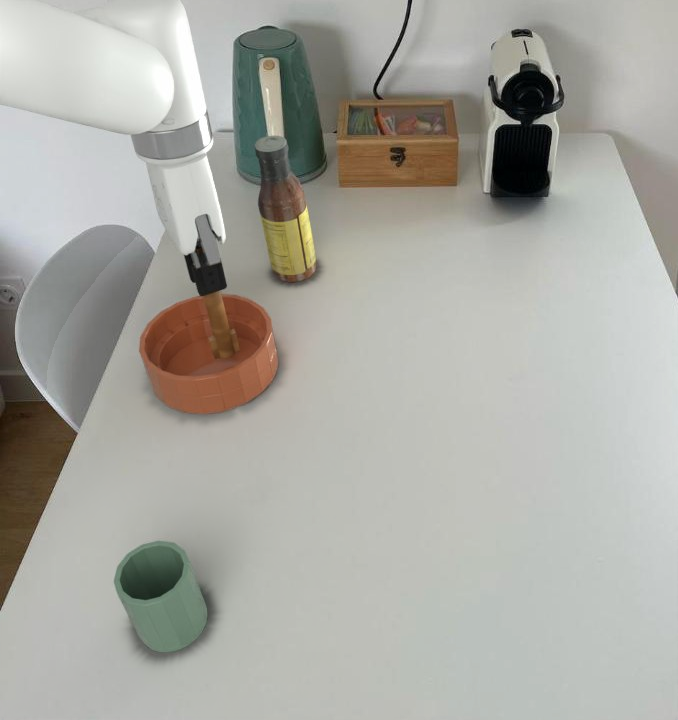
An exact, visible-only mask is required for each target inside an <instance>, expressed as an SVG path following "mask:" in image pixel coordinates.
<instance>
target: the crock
mask: <svg viewBox="0 0 678 720" xmlns="http://www.w3.org/2000/svg"><path fill="white" fill-rule="evenodd" d="M113 585H114V588H115V591H116V594H117V596H118V598H119V601H120V602H121V604H122V606H123V608H124V610H125V612H126V615H127V617H128V618H129V621H131V624H132V626H133V628H134V630H135V632H136V634H137V636H138V638H139V640H141V641H142V644H144V645H145V646H146V647H147V648H149V649H150V650H152V651H155V652H159V653H172V652H177V651H180V650H182V649H184V648H186V647H188V646H190V645H191V644H192V643H194V642H195V641H196V640H197V639H198V638H199V637H200V635H201V634H202V633H203V631H204V630H205V628H206V624H207V622H208V607H207V603H206V602H205V599H204V596H203V594H202V591H201V588H200V585H199V582H198V581H197V578H196V575H195V572H194V570H193V567H192V564H191V562H190V559H189V556H188V554H187V552H186V550H185V549H184V548H183V547H181V546H180V545H178V544H177V543H175V542H172V541H165V540H155V541H151V542H146V543H143V544H140V545H139V546H137V547H136V548H134V549H132V550H130V552H128V553H127V554H126V555H125V556H124V557H123V559H122V560H121V561H120V562H119V564H118V565H117V567H116V570H115V574H114V578H113Z"/></svg>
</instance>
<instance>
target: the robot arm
mask: <svg viewBox="0 0 678 720" xmlns="http://www.w3.org/2000/svg"><path fill="white" fill-rule="evenodd" d="M191 31H192V30H191V27H190V22H189V17H188V14H187V11H186V8H185V5H184V4H183V2H182V1H181V0H107V1H106V2H105V3H104V4H103V5H100V6H97V7H93V8H88V9H84V10H78V11H74V12H72V11H69V10H66V9H63V8H60V7H57V6H54V5H51V4H49V3H47V2H44V1H41V0H0V105H2V106H5V107H10V108H14V109H18V110H22V111H27V112H30V113H33V114H38V115H42V116H44V117H45V116H46V117H49V118H53V119H57V120H62V121H66V122H70V123H74V124H78V125H82V126H86V127H91V128H95V129H98V130H104V131H107V132H112V133H115V134H121V135H125V136H129V135H130V138H131V142H132V145H133V149H134V153H135V155H136V157H137V158H138V159H139V160H141V161H143V162H144V163H145V165H146V169H147V174H148V179H149V182H150V187H151V191H152V195H153V201H154V204H155V208H156V212H157V215H158V219H159V220H160V222H161V224H162V226H163V227H164V230H165V231H166V233H167V234H168V237H169V238H170V240H171V242H172V243H173V245H174V246H175V248H176V249H177V251H178V252H179V254H181V255H183V257H184V261H185V265H186V268H187V272H188V276H189V279H190V281H191V283H192V284H195V286H196V291H197V294H198V296H205V295H208V294H211V293H214V292H217V291H220V290H221V291H223V290H226V289H227V287H228V283H227V279H226V276H225V270H224V266H223V262H222V261H223V260H222V258H221V255H220V249H219V246H218V244H219V243H220V245H224V243H225V242H226V239H227V237H226V229H225V224H224V219H223V215H222V210H221V205H220V201H219V197H218V193H217V189H216V186H215V181H214V178H213V172H212V170H211V165H210V163H209V158H208V155H207V152H209V151H210V150H211V149H212V147H213V145H214V136H213V132H212V126H211V122H210V117H209V112H208V106H207V103H206V98H205V93H204V88H203V84H202V78H201V74H200V69H199V64H198V60H197V55H196V50H195V46H194V42H193V41H194V40H193V36H192V32H191ZM200 248H202V249H203V251H202V252H199V253H197V250H196V249H200Z"/></svg>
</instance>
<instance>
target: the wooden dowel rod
mask: <svg viewBox="0 0 678 720" xmlns="http://www.w3.org/2000/svg"><path fill="white" fill-rule="evenodd" d="M196 250H197V253H199V252H202V251H203V249H202V248H200V249H196ZM221 294H222V290H220V291H217V292H214V293H211V294H208V295H205V296H203V297H204V301H205V305H206V309H207V313H208V317H209V321H210V325H211V328H212V332H213V336H211V337H209V338H208V339H209V343H210V346H211V350H212V354H213V357H214V359H218V358H222V359H228V358H231V357H232V356H233V355H234V354H235V352H238V351H240V348H239V343H238V339H237V335H236V331H235V330H234V329H231V330H230V328H229V324H228V320H227V316H226V312H225V307H224V303H223V299H222V295H221Z"/></svg>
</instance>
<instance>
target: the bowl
mask: <svg viewBox="0 0 678 720" xmlns="http://www.w3.org/2000/svg"><path fill="white" fill-rule="evenodd" d="M221 295H222V299H223V303H224V307H225V312H226V316H227V320H228V324H229V328H230V330H231V329H234V330H235V331H236V335H237V339H238V343H239V348H240V351H238V352H235V354H234V355H233V356H232V357H231V358H228V359H222V358H218V359H214V357H213V354H212V350H211V346H210V343H209V339H208V338H209V337H211V336H213V332H212V328H211V325H210V321H209V317H208V313H207V309H206V305H205V301H204V297H203V296H200V295H196V296H192V297H189V298H186V299H183V300H181V301H177V302H176V303H174V304H172V305H170V306H168V307H166V308H164V309H163V310H161V311H160V312H159V313H157V314H156V316H154V317H153V318H152V319H151V320H149V322H148V323H147V324H146V326H145V328H144V330H143V332H142V333H141V334H140V337H139V345H138V352H139V355H140V358H141V361H142V364H143V367H144V369H145V373H146V376H147V378H148V381H149V384H150V386H151V389H152V392H153V393H154V395H155V397H156V398H157V399H158V400H159V401H161V402H162V403H163V404H164V405H165V406H167V407H168V408H171V409H174V410H177V411H179V412H182V413H187V414H199V415H208V414H209V415H210V414H214V413H215V414H216V413H221V412H226V411H229V410H231V409H235V408H237V407H240V406H242V405H245V404H247V403H249V402H250V401H252V400H253V399H254V398H256V397H258V396H259V395H260V394H262V393H263V392H264V391H265V389H266V388H268V386H269V385H270V384H271V383H272V382H273V380H274V378H275V376H276V373H277V370H278V368H279V356H278V350H277V344H276V339H275V334H274V333H275V332H274V327H273V322H272V318H271V317H270V315H269V314H268V312H267V311H266V309H265V308H264V307H263V306H262V305H260V304H259V303H257V302H256V301H254V300H252V299H251V298H248V297H245V296H240V295H237V294H228V293H221Z"/></svg>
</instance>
